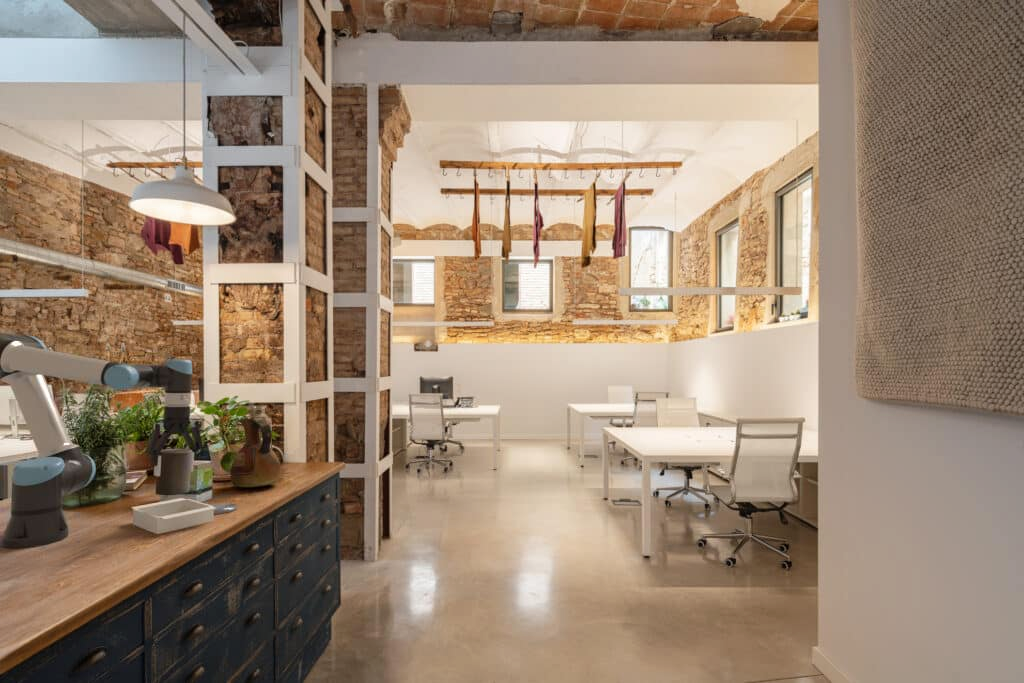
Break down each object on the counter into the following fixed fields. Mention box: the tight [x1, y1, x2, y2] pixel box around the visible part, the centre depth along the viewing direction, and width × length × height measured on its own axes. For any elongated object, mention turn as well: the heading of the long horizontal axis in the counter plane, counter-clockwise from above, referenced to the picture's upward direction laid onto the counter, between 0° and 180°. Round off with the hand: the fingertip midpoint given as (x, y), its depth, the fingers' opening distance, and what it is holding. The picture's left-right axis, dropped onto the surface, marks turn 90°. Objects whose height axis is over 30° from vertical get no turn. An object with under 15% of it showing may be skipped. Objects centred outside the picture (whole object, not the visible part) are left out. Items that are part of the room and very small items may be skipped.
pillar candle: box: [155, 447, 192, 496], centre depth 184 cm, size 10×10×15 cm
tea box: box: [159, 460, 214, 503], centre depth 213 cm, size 15×10×15 cm, turn 84°
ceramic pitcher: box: [229, 416, 282, 488], centre depth 238 cm, size 20×20×30 cm
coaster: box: [210, 502, 238, 516], centre depth 200 cm, size 12×12×1 cm
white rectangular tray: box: [130, 498, 217, 535], centre depth 184 cm, size 17×23×5 cm
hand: (173, 473), depth 184 cm, fingers closed on pillar candle, 10 cm apart
